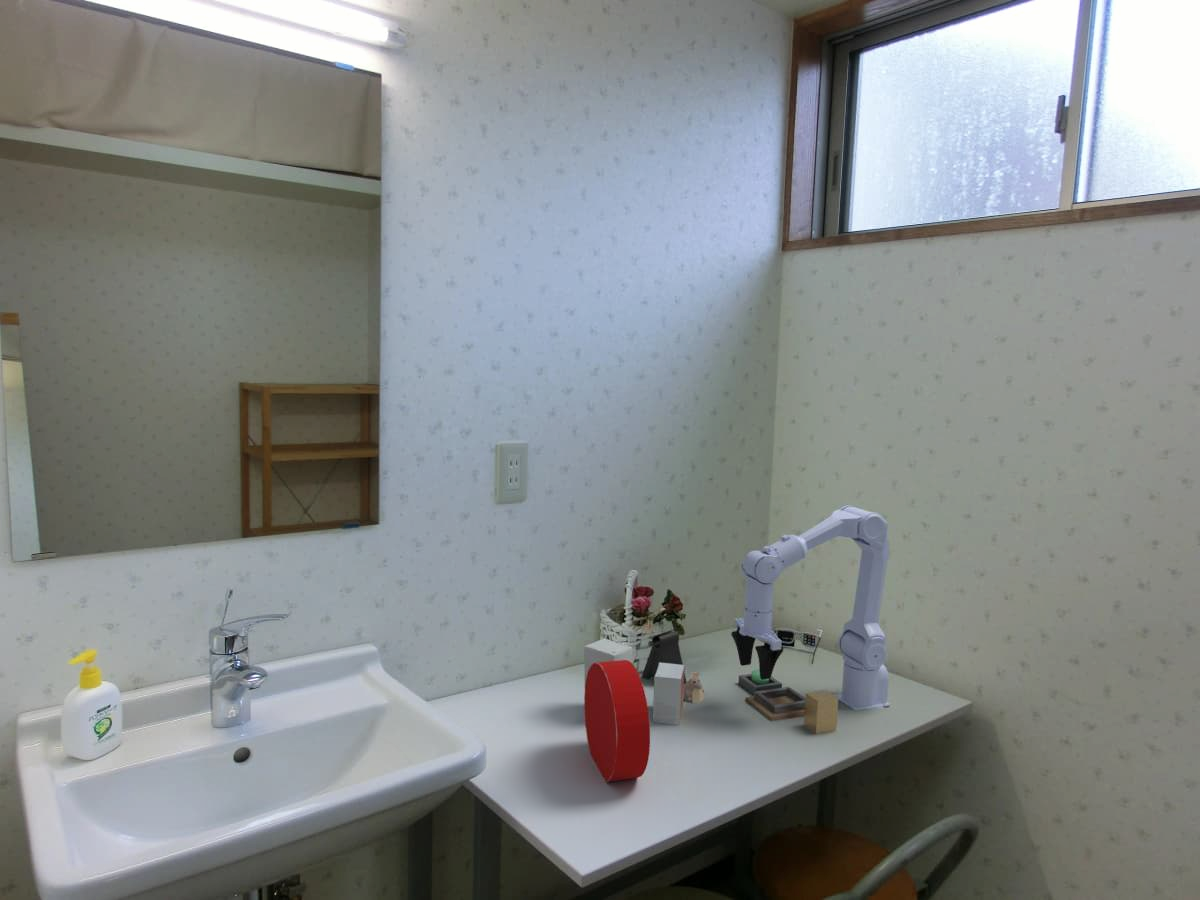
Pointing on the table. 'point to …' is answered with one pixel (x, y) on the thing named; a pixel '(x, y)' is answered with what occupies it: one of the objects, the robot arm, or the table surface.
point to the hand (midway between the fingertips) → (755, 671)
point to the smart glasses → (789, 638)
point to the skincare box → (606, 653)
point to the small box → (668, 693)
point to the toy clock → (617, 720)
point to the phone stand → (663, 653)
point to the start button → (758, 678)
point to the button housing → (751, 687)
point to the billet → (821, 712)
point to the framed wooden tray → (778, 703)
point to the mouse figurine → (693, 689)
